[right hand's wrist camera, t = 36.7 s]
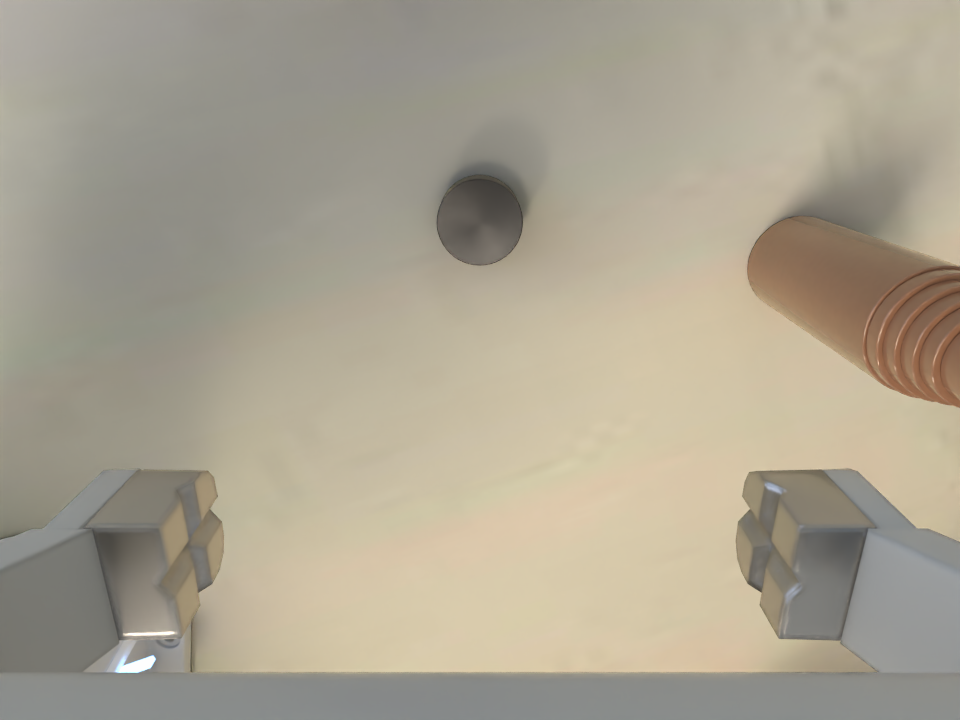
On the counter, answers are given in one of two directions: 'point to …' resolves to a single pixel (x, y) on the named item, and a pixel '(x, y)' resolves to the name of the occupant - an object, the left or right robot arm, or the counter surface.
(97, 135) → the counter surface
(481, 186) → the cap
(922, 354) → the bottle
